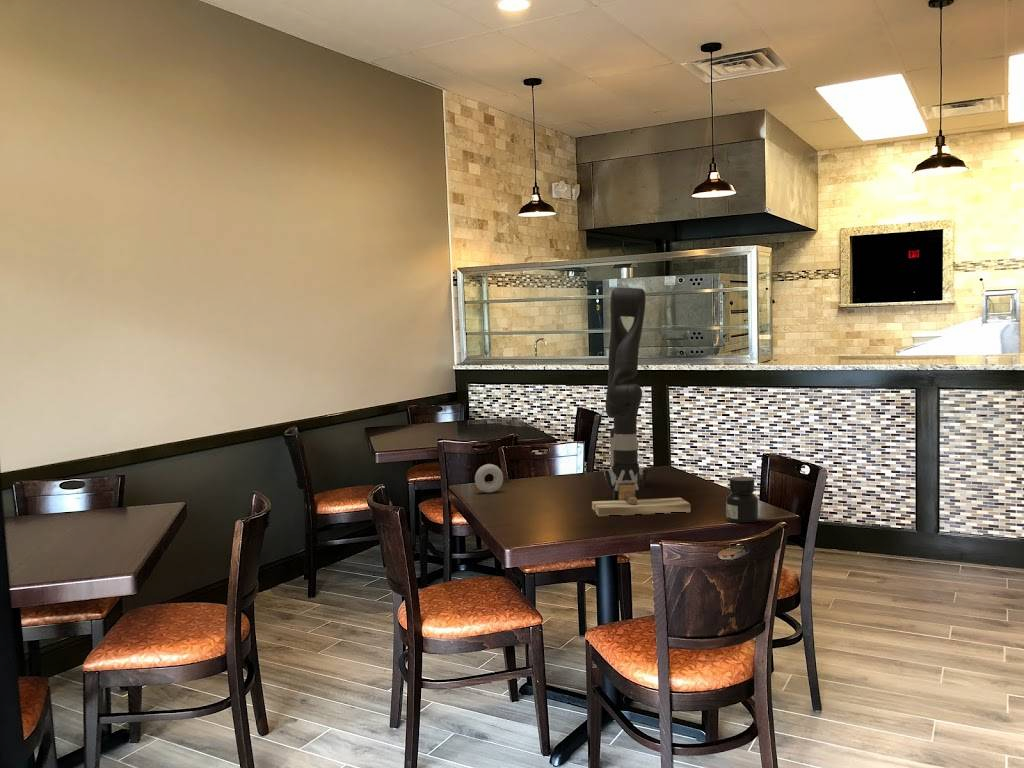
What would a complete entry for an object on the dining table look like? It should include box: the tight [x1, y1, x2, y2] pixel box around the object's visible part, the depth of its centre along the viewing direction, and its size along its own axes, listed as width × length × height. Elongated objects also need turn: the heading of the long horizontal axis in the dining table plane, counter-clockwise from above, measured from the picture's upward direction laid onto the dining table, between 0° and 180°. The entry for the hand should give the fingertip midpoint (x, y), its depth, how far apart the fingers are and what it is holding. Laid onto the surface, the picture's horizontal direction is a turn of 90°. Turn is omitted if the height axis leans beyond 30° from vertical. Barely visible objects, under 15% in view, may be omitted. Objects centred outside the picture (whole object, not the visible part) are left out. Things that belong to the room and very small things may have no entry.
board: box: [591, 497, 692, 517], centre depth 260 cm, size 10×28×2 cm, turn 96°
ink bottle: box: [725, 476, 759, 524], centre depth 245 cm, size 10×9×12 cm
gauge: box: [618, 483, 637, 504], centre depth 264 cm, size 14×5×7 cm, turn 6°
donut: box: [474, 463, 504, 494], centre depth 294 cm, size 10×4×10 cm, turn 105°
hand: (625, 501), depth 267 cm, fingers closed on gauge, 5 cm apart
